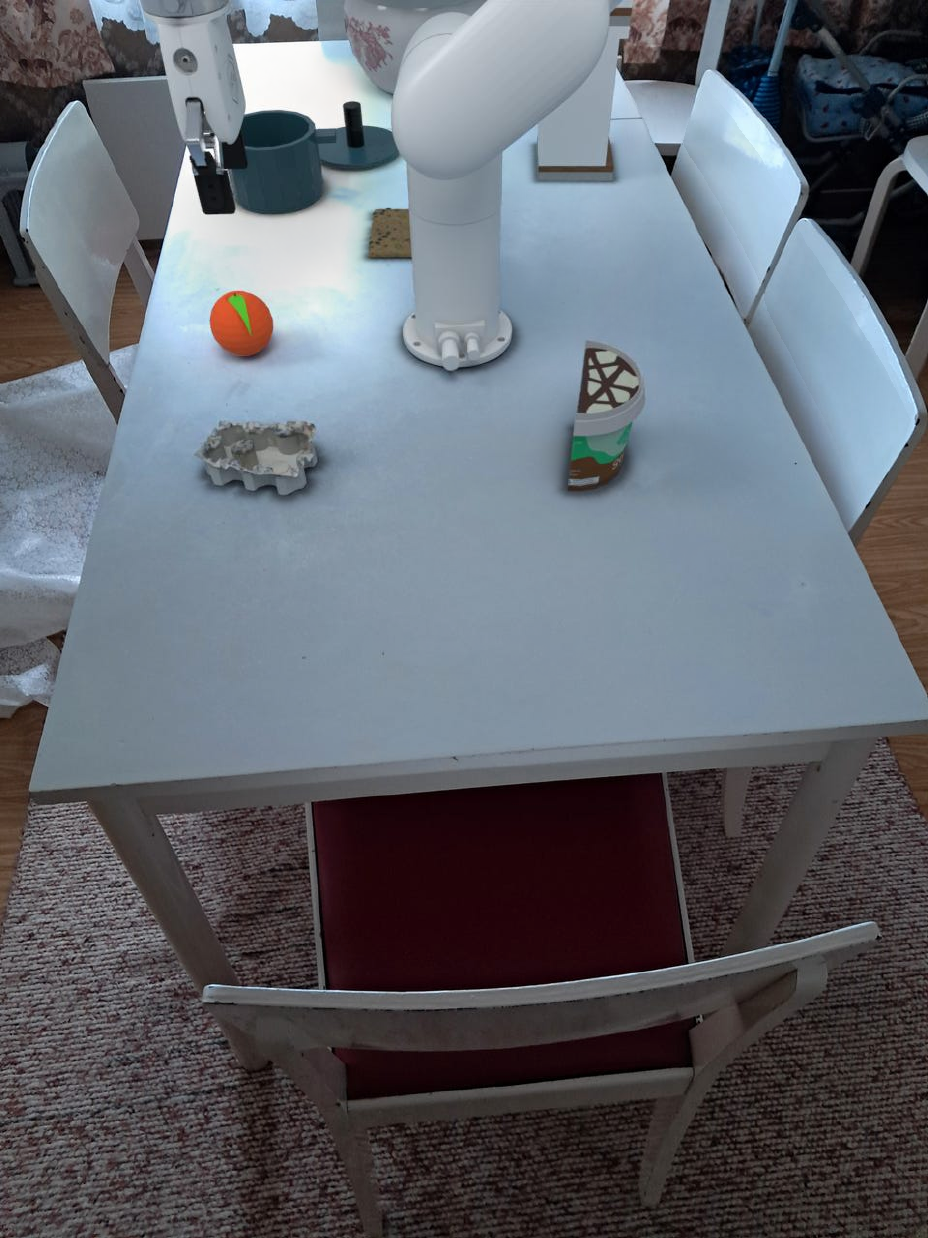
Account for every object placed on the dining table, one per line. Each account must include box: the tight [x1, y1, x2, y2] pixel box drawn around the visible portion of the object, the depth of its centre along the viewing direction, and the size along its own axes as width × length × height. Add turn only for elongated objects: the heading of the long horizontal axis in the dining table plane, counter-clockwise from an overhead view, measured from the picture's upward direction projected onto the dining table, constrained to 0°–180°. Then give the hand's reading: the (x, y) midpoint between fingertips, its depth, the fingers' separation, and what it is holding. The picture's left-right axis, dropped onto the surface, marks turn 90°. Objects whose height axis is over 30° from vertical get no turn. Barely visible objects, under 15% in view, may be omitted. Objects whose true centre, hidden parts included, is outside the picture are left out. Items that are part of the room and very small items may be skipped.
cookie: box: [367, 207, 412, 259], centre depth 115 cm, size 12×12×1 cm
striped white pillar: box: [536, 0, 634, 182], centre depth 115 cm, size 11×11×35 cm
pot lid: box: [318, 100, 400, 169], centre depth 129 cm, size 14×14×7 cm
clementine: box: [208, 290, 274, 357], centre depth 97 cm, size 8×7×7 cm
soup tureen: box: [342, 0, 487, 95], centre depth 139 cm, size 28×28×21 cm
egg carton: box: [193, 420, 318, 496], centre depth 85 cm, size 11×8×4 cm
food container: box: [567, 339, 646, 492], centre depth 83 cm, size 12×6×10 cm, turn 171°
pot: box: [203, 109, 337, 215], centre depth 120 cm, size 13×18×8 cm
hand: (226, 189), depth 89 cm, fingers open, 9 cm apart
